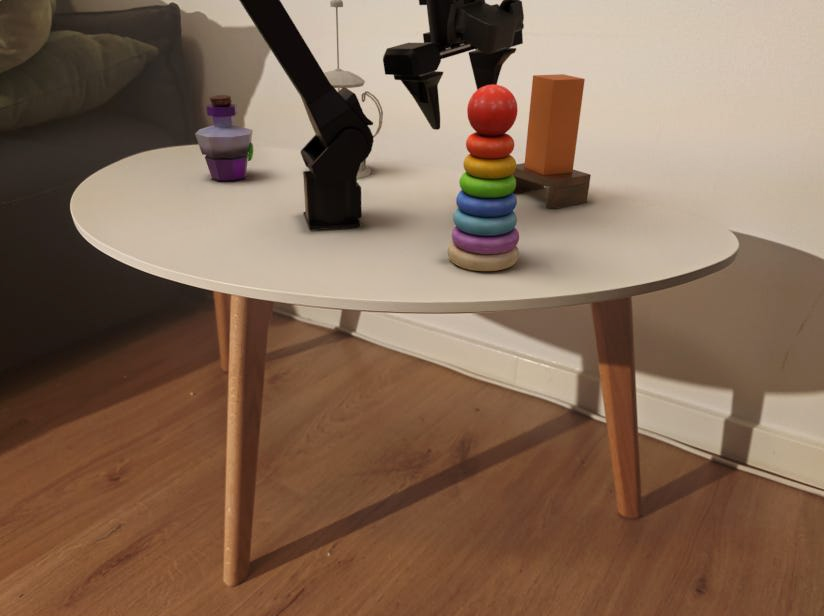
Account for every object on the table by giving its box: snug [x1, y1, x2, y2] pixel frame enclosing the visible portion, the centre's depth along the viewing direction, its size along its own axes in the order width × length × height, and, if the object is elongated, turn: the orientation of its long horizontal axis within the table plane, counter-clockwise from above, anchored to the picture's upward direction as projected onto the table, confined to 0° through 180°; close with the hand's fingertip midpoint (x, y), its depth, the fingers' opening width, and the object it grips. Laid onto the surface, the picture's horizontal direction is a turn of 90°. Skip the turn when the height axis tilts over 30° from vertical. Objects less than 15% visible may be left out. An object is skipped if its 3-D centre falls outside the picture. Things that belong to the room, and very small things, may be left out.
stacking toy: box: [447, 84, 520, 272], centre depth 74 cm, size 8×8×19 cm
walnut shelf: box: [512, 162, 592, 210], centre depth 102 cm, size 7×10×4 cm
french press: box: [324, 0, 384, 179], centre depth 107 cm, size 10×12×25 cm
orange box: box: [524, 73, 586, 175], centre depth 98 cm, size 5×5×12 cm
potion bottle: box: [194, 94, 254, 183], centre depth 105 cm, size 9×9×12 cm
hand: (462, 119), depth 89 cm, fingers open, 9 cm apart
